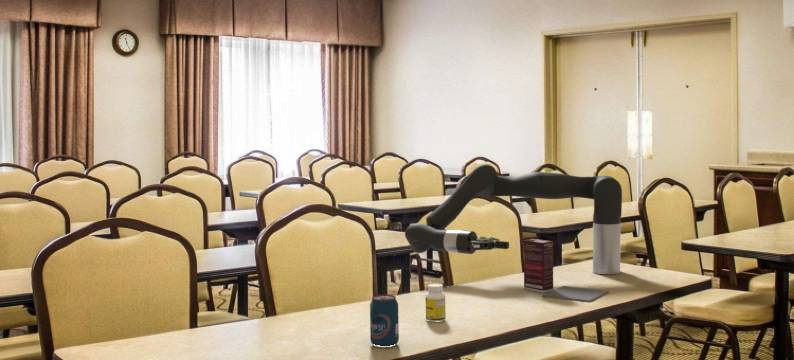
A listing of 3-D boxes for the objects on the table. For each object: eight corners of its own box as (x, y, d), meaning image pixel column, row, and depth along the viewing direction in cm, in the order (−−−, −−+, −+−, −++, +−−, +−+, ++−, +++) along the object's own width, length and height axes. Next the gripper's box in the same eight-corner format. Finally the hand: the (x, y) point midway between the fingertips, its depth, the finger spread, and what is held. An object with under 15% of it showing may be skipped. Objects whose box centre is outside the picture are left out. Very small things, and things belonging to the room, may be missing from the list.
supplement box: (554, 291, 281) (554, 241, 280) (543, 293, 278) (543, 242, 277) (533, 287, 288) (533, 238, 287) (523, 289, 285) (522, 239, 284)
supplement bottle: (422, 319, 247) (422, 284, 246) (440, 317, 249) (439, 282, 248) (430, 323, 242) (430, 287, 241) (449, 321, 244) (448, 285, 243)
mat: (563, 287, 287) (563, 285, 287) (608, 292, 279) (608, 290, 279) (542, 296, 274) (542, 295, 274) (589, 302, 266) (589, 300, 265)
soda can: (366, 347, 219) (365, 299, 218) (376, 340, 226) (376, 293, 225) (392, 349, 217) (392, 300, 216) (402, 342, 223) (402, 295, 222)
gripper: (450, 233, 291) (498, 236, 282) (469, 228, 302) (517, 231, 293) (450, 255, 292) (498, 260, 282) (470, 250, 303) (517, 254, 293)
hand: (508, 245), depth 288 cm, fingers closed
